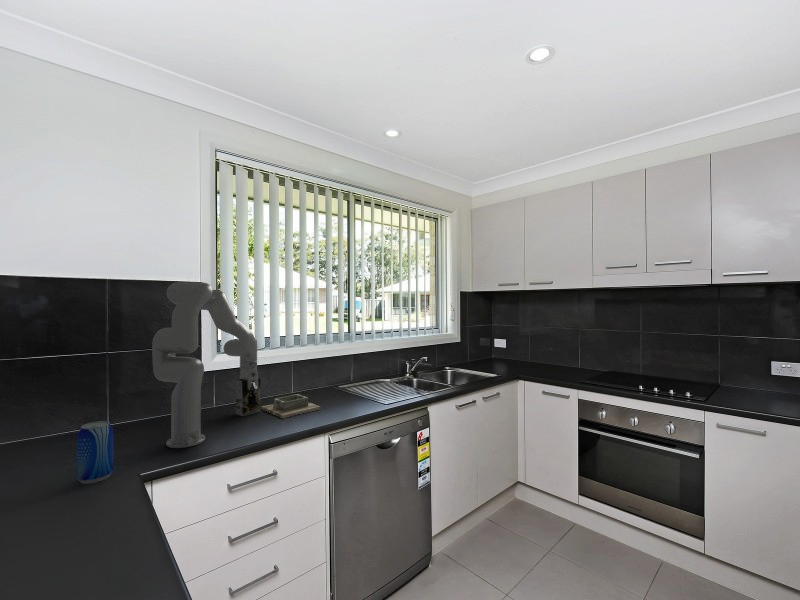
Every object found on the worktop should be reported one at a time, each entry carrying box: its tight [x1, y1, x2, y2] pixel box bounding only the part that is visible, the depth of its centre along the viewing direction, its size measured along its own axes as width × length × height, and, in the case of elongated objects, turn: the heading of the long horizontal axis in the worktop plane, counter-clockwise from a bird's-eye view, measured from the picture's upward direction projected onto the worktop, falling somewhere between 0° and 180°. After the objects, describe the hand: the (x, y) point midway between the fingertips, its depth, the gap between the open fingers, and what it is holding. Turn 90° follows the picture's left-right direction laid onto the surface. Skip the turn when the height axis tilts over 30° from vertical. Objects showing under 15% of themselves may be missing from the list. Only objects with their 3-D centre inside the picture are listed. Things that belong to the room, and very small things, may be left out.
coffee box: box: [235, 377, 262, 417], centre depth 176 cm, size 9×6×16 cm
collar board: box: [261, 393, 321, 419], centre depth 182 cm, size 20×20×6 cm
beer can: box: [76, 420, 114, 485], centre depth 112 cm, size 8×8×16 cm
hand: (248, 402), depth 176 cm, fingers closed on coffee box, 6 cm apart
